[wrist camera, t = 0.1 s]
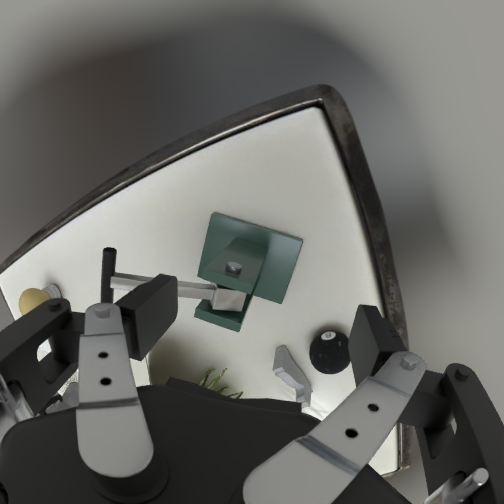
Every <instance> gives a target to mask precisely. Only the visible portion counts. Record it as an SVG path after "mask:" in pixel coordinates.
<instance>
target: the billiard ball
mask: <svg viewBox="0 0 504 504" xmlns="http://www.w3.org/2000/svg"><path fill="white" fill-rule="evenodd" d="M348 342H349V339H348V338H347V336H346V335H344V334H343V333H341V332H338V331H327V332H323V333H321V334H320V335H318V336H317V337H316V338H315V339H314V340H313V342H312V343H311V346H310V351H309V355H310V360H311V363H312V365H313V366H314V368H315V369H316V370H318V371H319V372H321V373H324V374H336V373H339V372H341V371H342V370H344V369H345V368H346V367H347V366H348V365H349V363H350V361H351V359H350V354H349V350H348Z"/></svg>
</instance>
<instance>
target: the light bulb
mask: <svg viewBox="0 0 504 504" xmlns="http://www.w3.org/2000/svg"><path fill="white" fill-rule="evenodd" d="M53 298H61V295H60V291H59V289H58V288H57V287H56V286H55V285H53V284H51V285H49V286H47V287H46V288H44V289H42V290H39V289H36V288H29V289H27V290H25V291H24V292H23V293H22V295H21V296H20V299H19V309H20V312H21V314H22V315H25V314H26V313H28V312H29V311H31V310H32V309H34V308H35V307H37V306H38V305H40V304H41V303H43V302H44V301H46V300H49V299H53Z"/></svg>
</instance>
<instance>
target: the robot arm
mask: <svg viewBox="0 0 504 504" xmlns="http://www.w3.org/2000/svg"><path fill="white" fill-rule="evenodd" d="M177 312H178V281H177V278H176V277H175V276H170V275H165V274H159V275H157V276H156V277H155V278H153V279H152V280H151V281H150V282H146V283H143V284H140V285H138V286H137V287H135V288H134V289H133V290H132V291H130V292H129V293H128V294H126V295H125V296H123V297H122V298H121V299H119V300H118V301H117V302H115V303H114V304H112V303H97V304H94V305H92V306H90V307H88V308H87V310H86V312H85V313H80V312H72V311H71V306H70V302H69V301H68V300H67V299H63V298H53V299H49V300H46V301H44V302H43V303H41V304H40V305H38V306H37V307H35V308H34V309H32V310H31V311H29V312H28V313H26V314H25V315H23V316H22V317H20V318H19V319H18V320H16V321H15V322H13V323H12V324H10V325H9V326H8V327H6V328H5V329H3V330H2V331H1V332H0V504H412V503H411V502H409V501H408V500H407V499H406V498H405V497H404V496H403V495H401V494H400V493H399V492H398V491H397V490H396V489H395V488H393V487H392V486H391V485H390V484H389V483H388V482H387V481H386V480H385V479H384V478H383V477H381V476H380V475H379V474H378V473H377V472H376V471H375V470H374V469H373V468H372V467H371V466H370V465H369V464H368V463H369V461H370V460H371V459H372V457H373V456H374V455H375V453H376V452H377V451H378V449H379V448H380V446H381V445H382V444H383V442H384V441H385V439H386V438H387V436H388V435H389V433H390V432H391V430H392V429H393V427H394V426H395V424H396V423H397V422H399V423H403V424H407V425H412V426H415V430H416V434H417V438H418V442H419V447H420V452H421V456H422V461H423V466H424V471H425V476H426V482H427V488H428V494H429V497H428V498H427V499H426V500H425V502H424V503H423V504H504V425H503V423H502V421H501V419H500V417H499V415H498V413H497V411H496V409H495V407H494V405H493V403H492V402H491V400H490V398H489V397H488V394H487V393H486V391H485V389H484V388H483V386H482V384H481V382H480V381H479V379H478V377H477V375H476V374H475V372H474V371H472V370H471V369H470V368H469V367H467V366H465V365H462V364H459V363H453V364H450V365H448V367H447V368H446V370H445V372H444V374H441V373H437V372H433V371H429V370H426V363H425V361H424V360H423V359H422V358H421V357H420V356H418V355H416V354H414V353H411V352H407V350H406V348H405V346H404V344H403V342H402V340H401V338H400V336H399V334H398V332H397V330H396V329H395V327H394V325H393V324H392V323H391V322H390V321H389V320H387V319H386V318H382V316H381V314H380V312H379V310H378V308H377V307H376V306H370V305H361V304H360V305H359V306H358V308H357V312H356V315H355V319H354V323H353V326H352V330H351V333H350V337H349V342H348V350H349V354H350V359H351V364H352V368H353V373H354V378H355V383H356V389H355V390H354V391H353V392H352V393H351V394H350V395H349V396H348V397H347V398H346V399H345V400H344V401H343V402H342V403H341V404H340V405H339V406H338V407H337V408H336V409H335V410H334V411H332V412H331V413H330V414H329V415H328V416H327V417H326V418H325V419H324V420H323V421H321V420H319V419H317V418H315V417H313V416H311V415H308V414H306V413H302V412H301V410H302V403H300V402H291V401H283V400H276V399H269V398H264V399H235V398H230V397H227V396H225V395H222V394H220V393H218V392H215V391H213V390H211V389H208V388H206V387H204V386H202V385H198V384H194V383H190V382H187V381H183V380H179V379H175V378H172V377H170V379H169V380H168V382H167V383H166V385H146V386H140V387H136V385H135V381H134V377H133V373H132V368H131V364H130V358H132V359H135V360H138V361H142V360H143V359H144V357H145V356H146V355H147V354H148V352H149V351H150V350H151V349H152V348H153V346H154V345H155V344H156V343H157V341H158V340H159V339H160V338H161V337H162V335H163V334H164V333H165V332H166V331H167V329H168V328H169V327H170V326H171V324H172V323H173V322H174V321H175V319H176V316H177ZM47 339H48V341H49V345H50V348H51V352H50V353H48V354H47V355H46V356H45V357H44V358H43V359H42V360H41V361H40V362H39V361H38V359H37V350H38V348H39V346H40V345H41V344H42V343H43V342H45V341H46V340H47ZM78 368H79V369H78ZM77 369H78V385H79V405H78V406H75V407H72V408H68V409H65V410H61V411H57V412H53V413H50V414H46V415H42V416H37V417H35V416H36V415H37V414H38V413H39V412H40V411H41V410H42V408H43V407H44V406H45V405H46V404H47V403H48V401H49V400H50V399H51V398H52V397H53V396H54V395H55V394H56V392H57V391H58V390H59V389H60V388H61V387H62V386H63V385H64V384H65V382H66V381H67V380H68V379H69V378H70V377H71V376H72V375H73V374H74V373H75V371H76V370H77ZM454 418H455V421H456V424H457V430H456V434H454V432H453V429H452V426H451V422H452V420H453V419H454Z"/></svg>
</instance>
